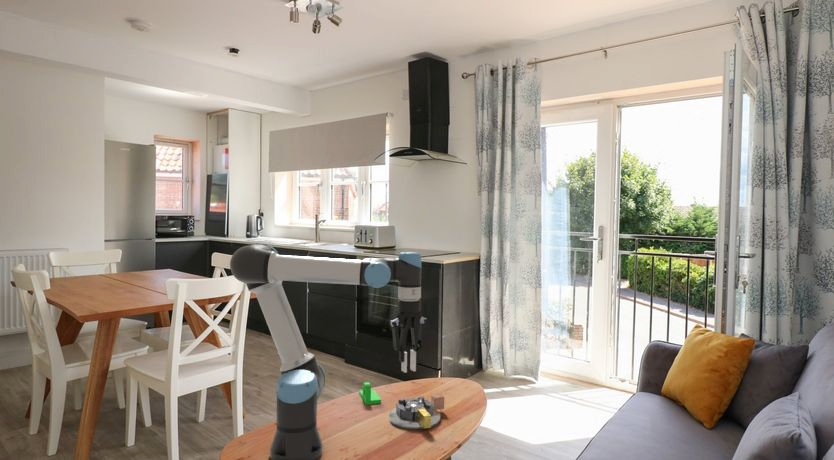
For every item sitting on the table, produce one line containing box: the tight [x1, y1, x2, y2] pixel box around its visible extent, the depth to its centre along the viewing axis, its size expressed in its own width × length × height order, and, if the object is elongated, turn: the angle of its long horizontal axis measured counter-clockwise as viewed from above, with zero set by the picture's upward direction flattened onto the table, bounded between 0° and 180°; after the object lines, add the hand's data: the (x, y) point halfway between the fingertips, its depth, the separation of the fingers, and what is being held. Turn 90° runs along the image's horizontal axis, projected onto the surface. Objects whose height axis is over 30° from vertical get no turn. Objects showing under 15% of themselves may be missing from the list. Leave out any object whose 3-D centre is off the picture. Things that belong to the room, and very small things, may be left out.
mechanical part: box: [358, 381, 382, 406], centre depth 189 cm, size 12×6×8 cm, turn 18°
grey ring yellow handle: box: [395, 395, 434, 429], centre depth 168 cm, size 19×12×4 cm, turn 20°
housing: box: [388, 393, 445, 431], centre depth 171 cm, size 21×18×6 cm
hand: (408, 370), depth 159 cm, fingers open, 3 cm apart
